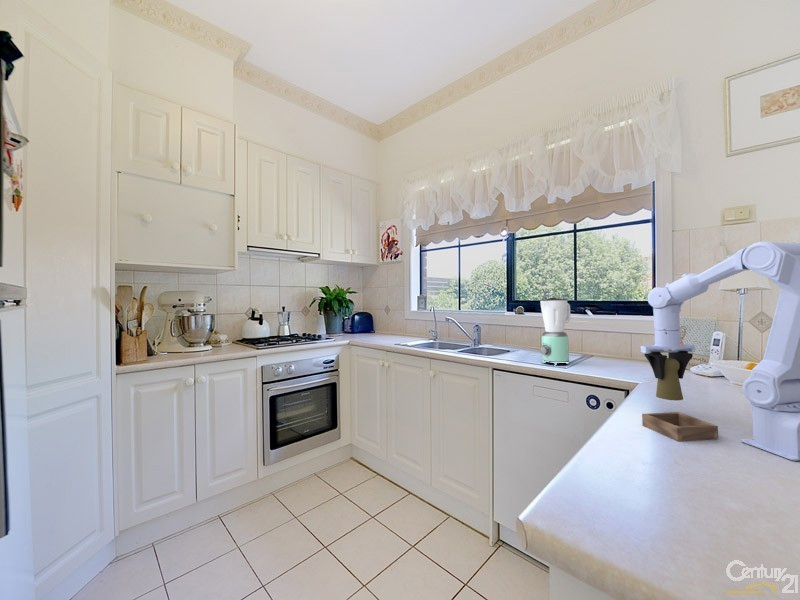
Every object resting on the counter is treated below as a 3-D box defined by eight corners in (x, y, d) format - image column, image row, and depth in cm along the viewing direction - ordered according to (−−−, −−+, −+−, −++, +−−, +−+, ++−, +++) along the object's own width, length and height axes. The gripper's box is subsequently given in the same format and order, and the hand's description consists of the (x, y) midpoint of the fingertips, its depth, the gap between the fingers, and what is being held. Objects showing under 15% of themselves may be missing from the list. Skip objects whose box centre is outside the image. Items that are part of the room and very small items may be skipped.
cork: (688, 400, 89) (686, 360, 89) (663, 400, 91) (661, 360, 91) (675, 394, 95) (673, 356, 95) (651, 394, 96) (649, 356, 97)
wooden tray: (718, 439, 76) (717, 426, 76) (677, 441, 75) (677, 427, 75) (678, 423, 86) (678, 412, 86) (642, 425, 85) (642, 413, 85)
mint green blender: (553, 367, 165) (551, 297, 166) (533, 363, 177) (531, 298, 178) (580, 364, 172) (578, 297, 173) (559, 360, 184) (557, 298, 185)
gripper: (678, 328, 97) (680, 374, 97) (631, 329, 97) (633, 376, 96) (701, 330, 90) (703, 379, 90) (651, 331, 89) (653, 381, 89)
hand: (668, 378), depth 93 cm, fingers closed on cork, 5 cm apart
